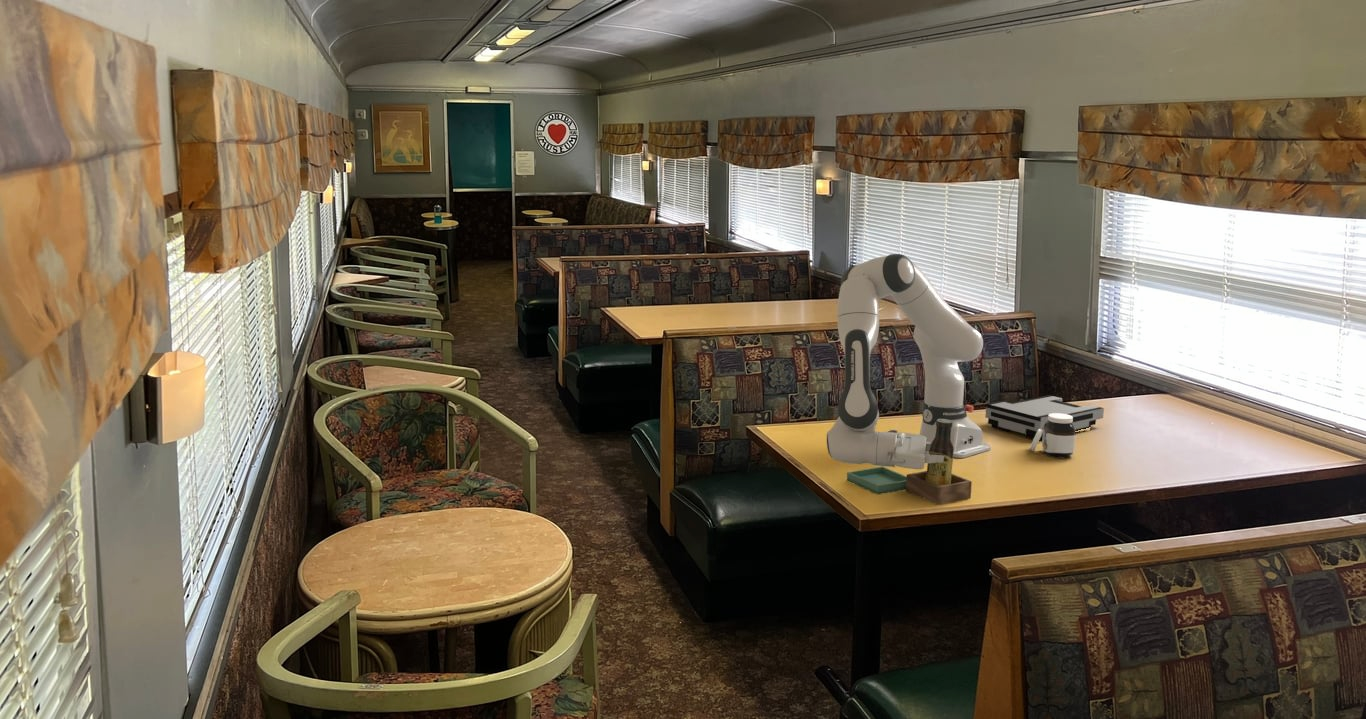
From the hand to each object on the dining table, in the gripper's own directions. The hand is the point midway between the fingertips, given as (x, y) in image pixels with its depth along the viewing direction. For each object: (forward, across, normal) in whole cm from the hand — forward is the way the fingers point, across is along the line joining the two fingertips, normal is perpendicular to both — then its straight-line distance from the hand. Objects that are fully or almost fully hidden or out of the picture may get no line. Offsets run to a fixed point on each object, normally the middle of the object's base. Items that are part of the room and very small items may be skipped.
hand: (943, 453), depth 275 cm
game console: (+31, +78, +12) cm, 85 cm away
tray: (-16, +4, +11) cm, 20 cm away
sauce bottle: (-1, 0, +11) cm, 11 cm away
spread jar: (+31, +48, +11) cm, 58 cm away
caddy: (-1, 0, +11) cm, 11 cm away
